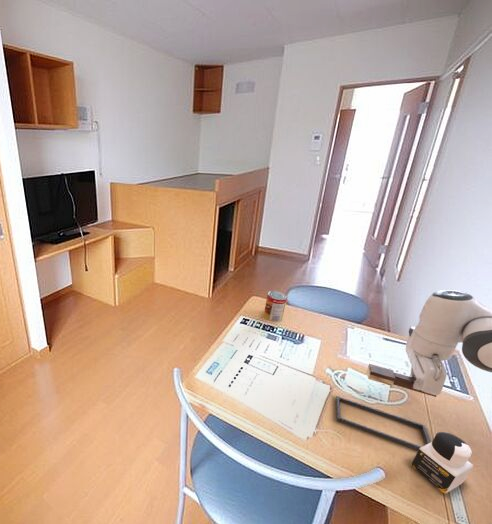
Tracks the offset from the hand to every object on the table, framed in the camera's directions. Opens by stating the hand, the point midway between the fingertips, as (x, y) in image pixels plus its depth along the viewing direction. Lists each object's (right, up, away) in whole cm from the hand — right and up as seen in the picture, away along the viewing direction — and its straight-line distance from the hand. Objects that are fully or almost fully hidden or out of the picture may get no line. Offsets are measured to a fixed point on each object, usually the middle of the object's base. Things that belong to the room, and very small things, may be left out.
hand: (414, 384), depth 89 cm
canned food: (-20, +10, +50) cm, 55 cm away
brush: (-4, -1, +2) cm, 4 cm away
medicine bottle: (-8, -17, -14) cm, 24 cm away
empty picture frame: (-12, -11, -2) cm, 17 cm away
